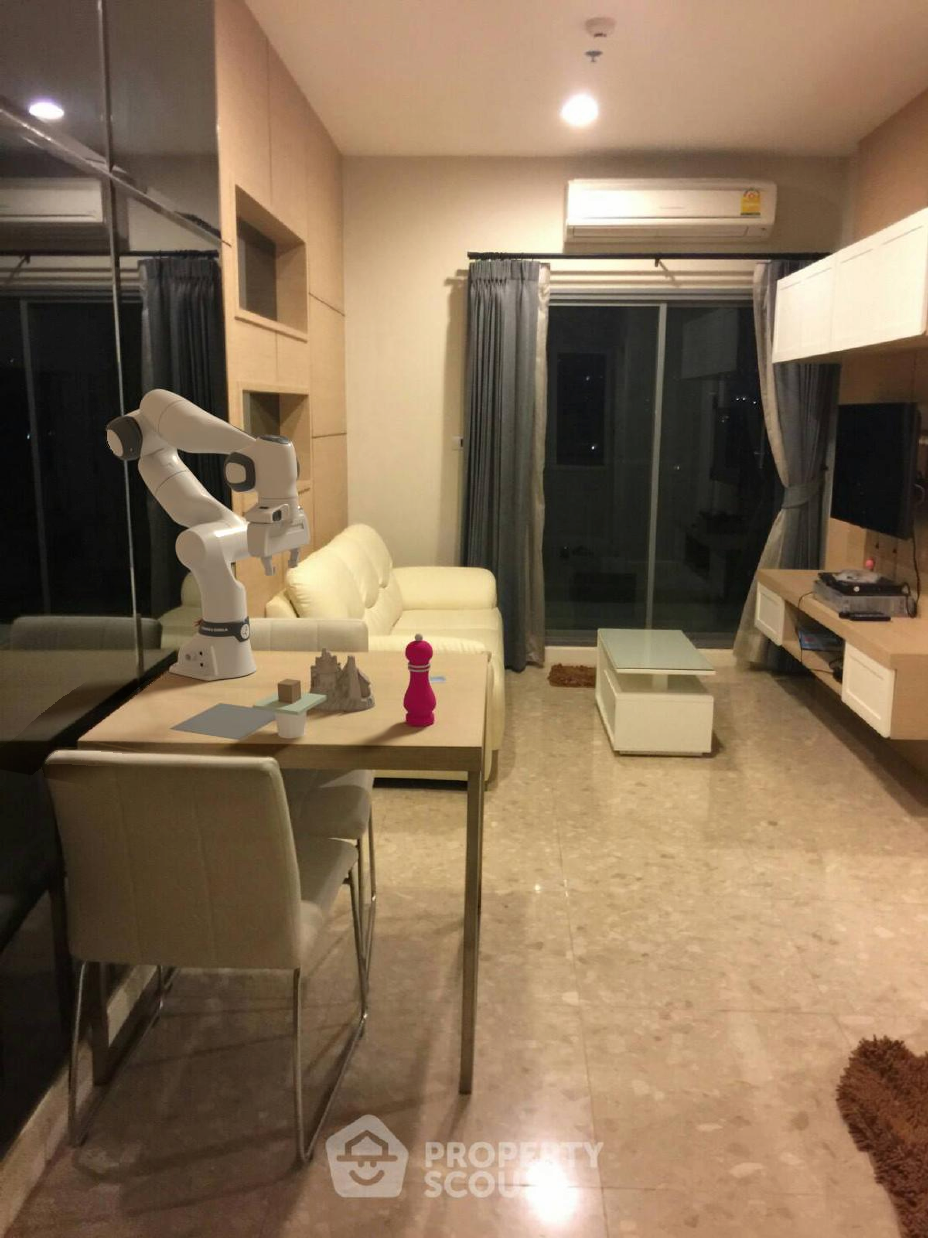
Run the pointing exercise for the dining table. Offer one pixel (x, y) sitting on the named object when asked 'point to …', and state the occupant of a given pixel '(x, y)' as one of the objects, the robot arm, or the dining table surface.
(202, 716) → the mat
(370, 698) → the ceramic cottage
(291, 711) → the lid
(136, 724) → the dining table surface
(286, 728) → the white cup
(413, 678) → the pepper mill
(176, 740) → the dining table surface
